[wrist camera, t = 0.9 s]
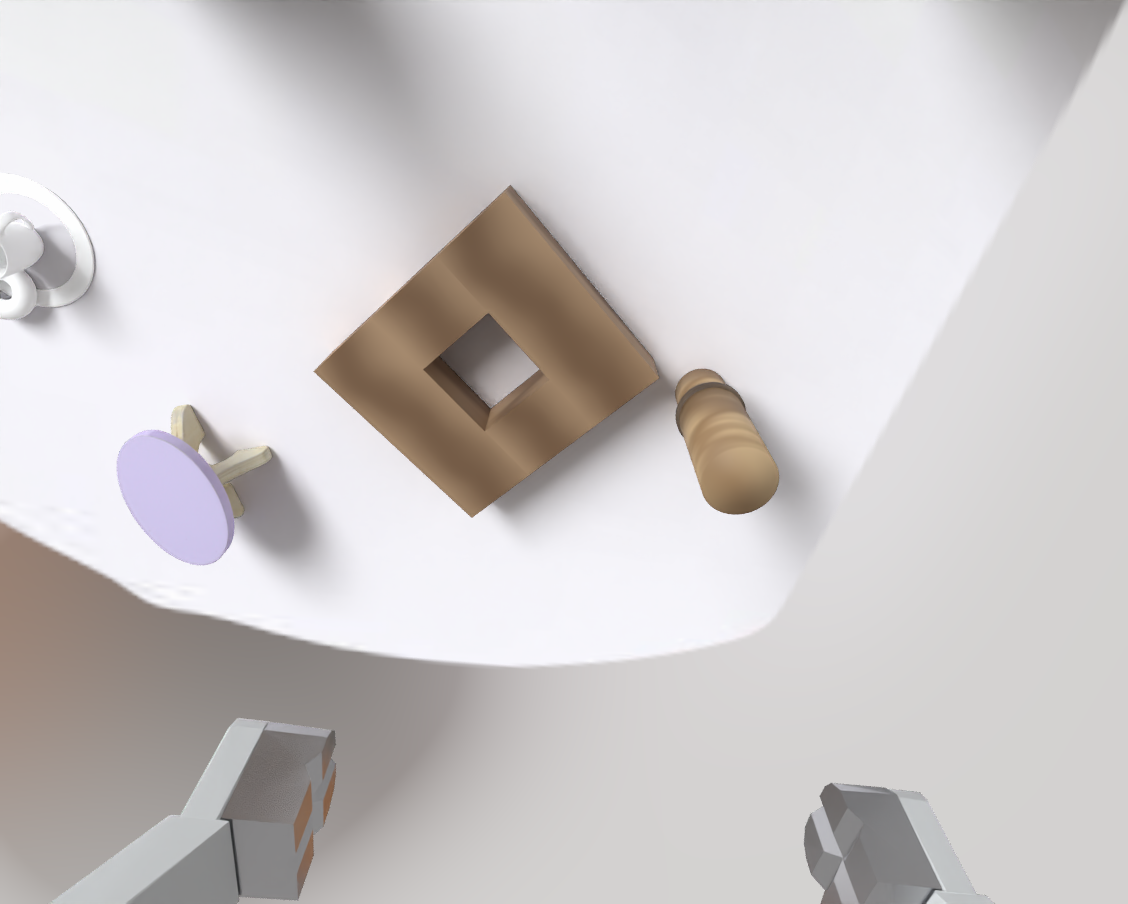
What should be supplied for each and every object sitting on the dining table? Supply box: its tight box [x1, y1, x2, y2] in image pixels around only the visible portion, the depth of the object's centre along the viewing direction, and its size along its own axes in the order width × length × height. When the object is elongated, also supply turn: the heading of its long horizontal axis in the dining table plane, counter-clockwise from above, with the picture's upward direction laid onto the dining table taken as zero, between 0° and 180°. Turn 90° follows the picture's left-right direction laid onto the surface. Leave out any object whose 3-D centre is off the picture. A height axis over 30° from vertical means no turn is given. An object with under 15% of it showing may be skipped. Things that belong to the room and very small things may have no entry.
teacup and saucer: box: [0, 173, 94, 320], centre depth 39 cm, size 9×8×4 cm
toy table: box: [117, 405, 272, 565], centre depth 45 cm, size 10×9×6 cm
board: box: [314, 185, 659, 518], centre depth 42 cm, size 16×14×4 cm
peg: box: [675, 369, 779, 514], centre depth 40 cm, size 4×4×12 cm
